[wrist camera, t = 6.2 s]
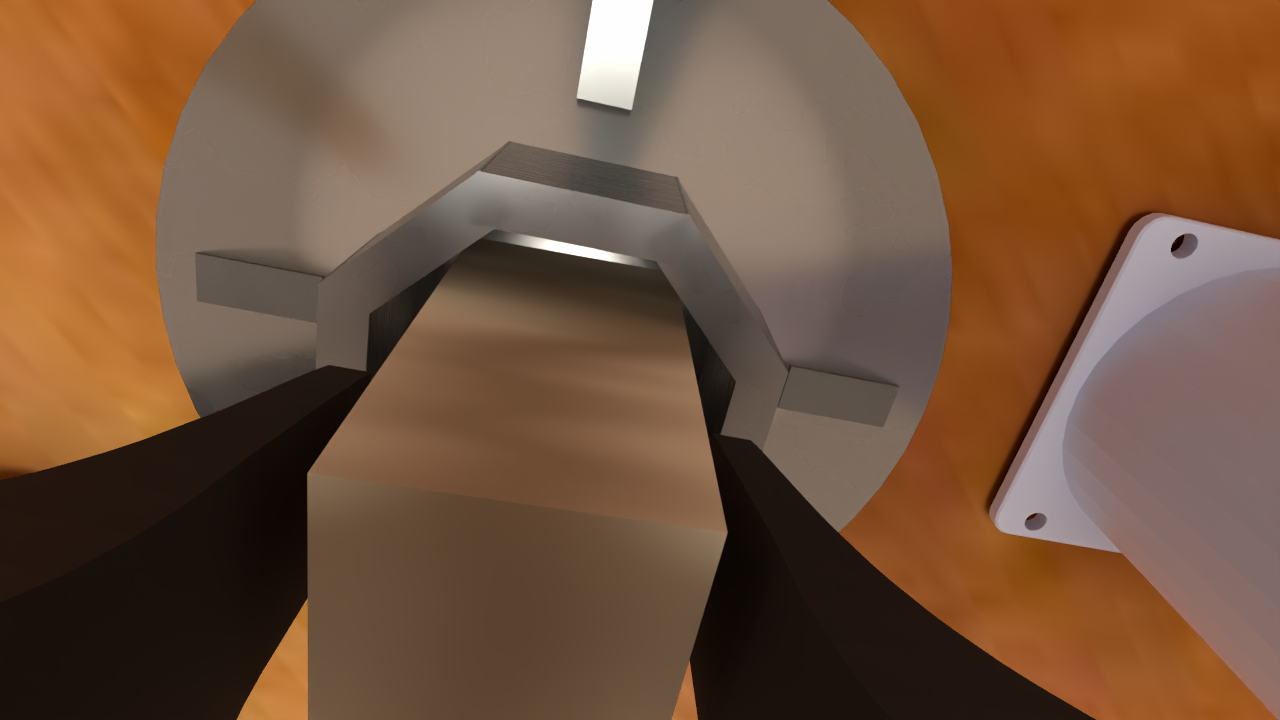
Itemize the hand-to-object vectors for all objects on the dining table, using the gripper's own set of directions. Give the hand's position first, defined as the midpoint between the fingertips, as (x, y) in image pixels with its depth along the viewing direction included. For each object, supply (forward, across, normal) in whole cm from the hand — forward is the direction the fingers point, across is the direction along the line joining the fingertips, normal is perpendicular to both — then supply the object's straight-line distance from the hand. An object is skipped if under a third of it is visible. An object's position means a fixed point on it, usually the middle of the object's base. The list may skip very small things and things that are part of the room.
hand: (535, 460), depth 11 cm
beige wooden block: (+4, 0, 0) cm, 4 cm away
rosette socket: (+5, 0, 0) cm, 5 cm away
